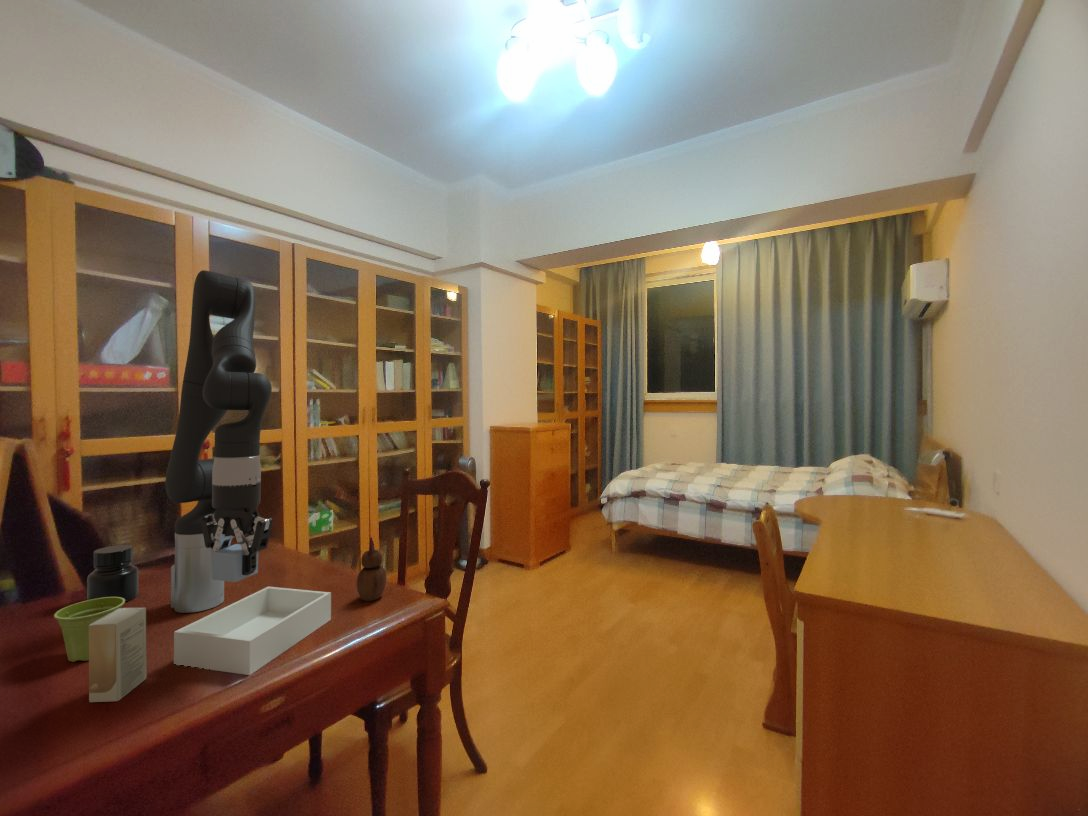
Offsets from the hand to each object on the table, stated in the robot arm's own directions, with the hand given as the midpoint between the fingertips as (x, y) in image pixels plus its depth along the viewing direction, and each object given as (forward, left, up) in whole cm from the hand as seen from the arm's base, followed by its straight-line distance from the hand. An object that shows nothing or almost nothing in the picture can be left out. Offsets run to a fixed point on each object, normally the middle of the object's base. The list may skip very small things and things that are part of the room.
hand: (235, 572), depth 87 cm
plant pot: (-26, -6, -15) cm, 30 cm away
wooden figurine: (+10, +28, -15) cm, 34 cm away
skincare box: (-9, -14, -15) cm, 22 cm away
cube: (0, 0, -1) cm, 1 cm away
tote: (0, +5, -15) cm, 16 cm away
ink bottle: (-48, +14, -15) cm, 52 cm away
